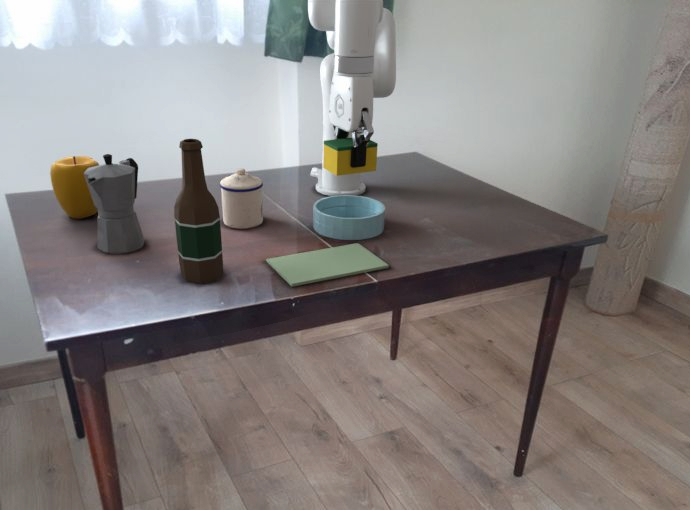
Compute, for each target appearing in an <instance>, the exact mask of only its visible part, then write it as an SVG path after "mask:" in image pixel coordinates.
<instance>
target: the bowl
mask: <svg viewBox="0 0 690 510" xmlns="http://www.w3.org/2000/svg"><path fill="white" fill-rule="evenodd" d="M385 218H386V206H385V205H384V203H382V202H381V201H379V200H377V199H374V198H372V197H367V196H364V195H363V196H362V195H337V196H326V197H321V198H320V199H318V200H316V201H315V202H314V203H313V207H312V228H313V230H314V231H315V232H316V233H317V234H318V235H321V236H323V237H326V238H329V239H334V240H341V241H360V240H361V241H363V240H368V239H372V238H375V237H378V236H379V235H381V234H382V233H383V232H384V230H385Z"/></svg>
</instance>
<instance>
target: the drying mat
mask: <svg viewBox="0 0 690 510" xmlns="http://www.w3.org/2000/svg"><path fill="white" fill-rule="evenodd" d="M266 263H267V264H268V265H269V266H270V267H271V268H272V269H273V270H274V271H275V272H276V273H277V274H278V275H279V276H280V277H281V278H282V279H283V280H284V281H285V282H287V284H288V285H290V287H298V286H303V285H307V284H313V283H318V282H324V281H328V280H335V279H339V278H343V277H349V276H354V275H359V274H364V273H370V272H374V271H380V270H385V269H389V267H390V266H389V264H388V263H386V262H385V261H384V260H382V259H381V258H380V257H378V256H377V255H375V254H374V253H373V252H371V251H370V250H369V249H367V248H366V247H364V246H363V245H361V243H359V242H356V243H351V244H345V245H344V244H343V245H339V246H332V247H328V248H327V247H326V248H322V249H321V248H320V249H316V250H309V251H305V252H304V251H303V252H299V253H293V254H286V255H282V256H276V257H269V258H266Z"/></svg>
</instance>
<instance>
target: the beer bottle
mask: <svg viewBox="0 0 690 510" xmlns="http://www.w3.org/2000/svg"><path fill="white" fill-rule="evenodd" d="M178 147H179V148H180V150H181V152H180V153H181V174H182V175H181V176H182V177H181V180H182V181H181V182H182V183H181V190H180V192H179V193H178V195H177V197H176V199H175V201H174V202H175V203H174V206H173V212H174V213H173V217H174V226H175V235H176V245H177V254H178V263H179V264H178V265H179V270H180V275H181V276H182V277H183V280H185V281H186V282H187V283H192V284H199V285H202V284H203V285H204V284H207V283H213V282H216V281H218V280H219V279H220V278H221V277H222V276H223V274H224V256H223V244H222V243H223V242H222V228H221V216H220V209H219V205H218V203H217V201H216V198H215V197H214V195H213V194H212V193H211V191H210V190H209V189H208V185H207V181H206V175H205V169H204V161H203V154H202V149H203V148H204V147H203V143H202V141H201V140H200V139H197V138H185V139H182V140H180V141H179V144H178Z"/></svg>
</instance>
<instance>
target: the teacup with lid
mask: <svg viewBox="0 0 690 510" xmlns="http://www.w3.org/2000/svg"><path fill="white" fill-rule="evenodd" d="M263 186H264V183H263V181H262V179H261V178H260V177H258V176H254V175H252V174H250V173H247V172H246V169H245V168H242V167H240V168H236V170H235V172H234V173H233V174H231V175H230V176H225V177H224V178H222V179H221V180H220V183H219V187H220V190H221V206H222V220H223V221H222V222H223V224H224V225H225V226H227V227H229V228H232V229H238V230H246V229H249V228H254V227H257V226H259V225H261V224H263V221H264V211H263V210H264V209H263Z"/></svg>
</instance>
